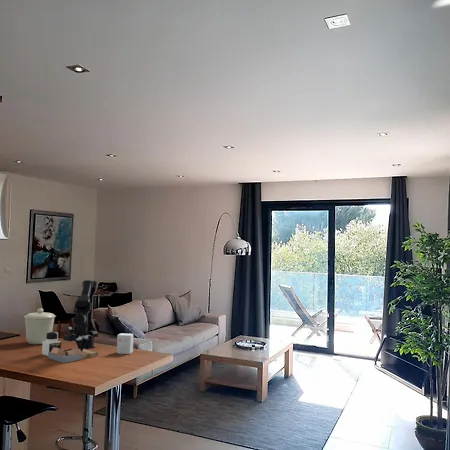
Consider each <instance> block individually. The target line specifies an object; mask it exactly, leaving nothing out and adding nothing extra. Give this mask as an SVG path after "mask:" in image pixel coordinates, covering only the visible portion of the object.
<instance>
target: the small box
mask: <svg viewBox="0 0 450 450" xmlns="http://www.w3.org/2000/svg"><path fill="white" fill-rule="evenodd" d="M132 353H134V333H122V332H121V333H119V334H117V339H116V354H123V355H124V354H125V355H131V354H132Z"/></svg>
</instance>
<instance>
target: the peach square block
mask: <svg viewBox="0 0 450 450" xmlns="http://www.w3.org/2000/svg"><path fill="white" fill-rule="evenodd" d="M69 351H70V352H68V353H67V354H68V356H72V355H77V354H82V352H81V350H80V349H79V348H78V347H73V348H72V349H71V350H69Z"/></svg>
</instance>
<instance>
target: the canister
mask: <svg viewBox="0 0 450 450" xmlns="http://www.w3.org/2000/svg"><path fill="white" fill-rule="evenodd" d="M36 311H37V312H30V313H27V314H26V315H24V316H23V318H24V321H25V337H26V342H27V343H28V344H29V345H42V344H43V341H47V340H46V334H47V333H49V332H53V330H54V329H53V327H54V322H55V318H56V317H57V315H55V314H54V313H51V312H44V309H43V308H42V307H40V308H38V309H37V310H36Z"/></svg>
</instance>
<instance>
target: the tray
mask: <svg viewBox="0 0 450 450" xmlns="http://www.w3.org/2000/svg"><path fill="white" fill-rule="evenodd" d="M61 350H62V351H64V352H65V351H66V349H61ZM81 355H82V354H77V355H72V356H68V355H64V356H61V355H58V354H54V353H51V352H48V356H47V359H50V360H52V361H56V362H59V363H64V364H68V363H72V361H73V362H76V361H81V360H82V359H81Z"/></svg>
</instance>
